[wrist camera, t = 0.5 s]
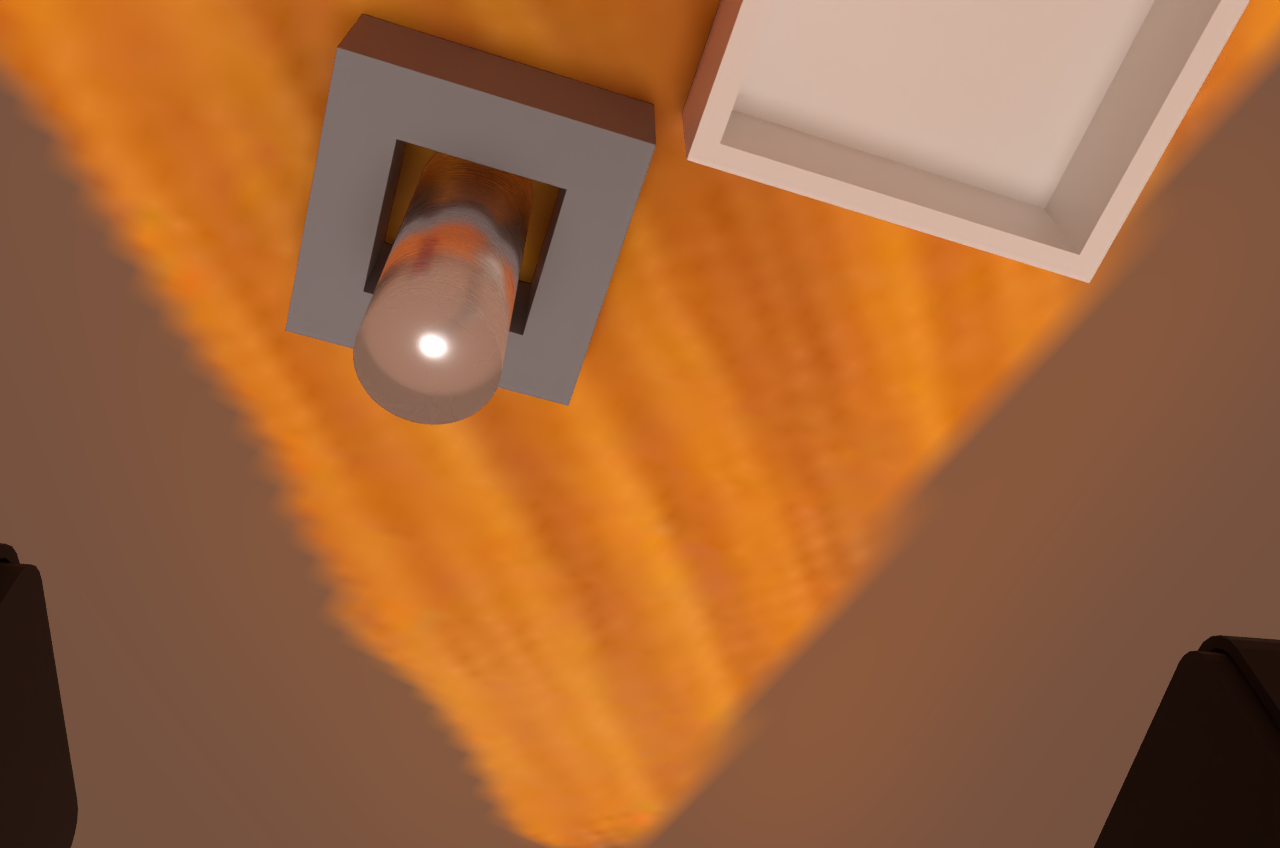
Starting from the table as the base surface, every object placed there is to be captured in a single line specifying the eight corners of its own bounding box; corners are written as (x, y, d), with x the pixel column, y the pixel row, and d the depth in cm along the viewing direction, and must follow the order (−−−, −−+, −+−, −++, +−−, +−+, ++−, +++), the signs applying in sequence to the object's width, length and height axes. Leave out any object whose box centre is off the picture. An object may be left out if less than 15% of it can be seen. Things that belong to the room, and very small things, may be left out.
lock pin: (433, 126, 42) (368, 277, 32) (545, 160, 42) (518, 318, 32) (408, 229, 44) (341, 403, 34) (516, 260, 44) (482, 439, 34)
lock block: (362, 13, 40) (337, 47, 36) (653, 105, 41) (656, 145, 38) (311, 279, 45) (285, 330, 41) (572, 351, 46) (568, 405, 43)
